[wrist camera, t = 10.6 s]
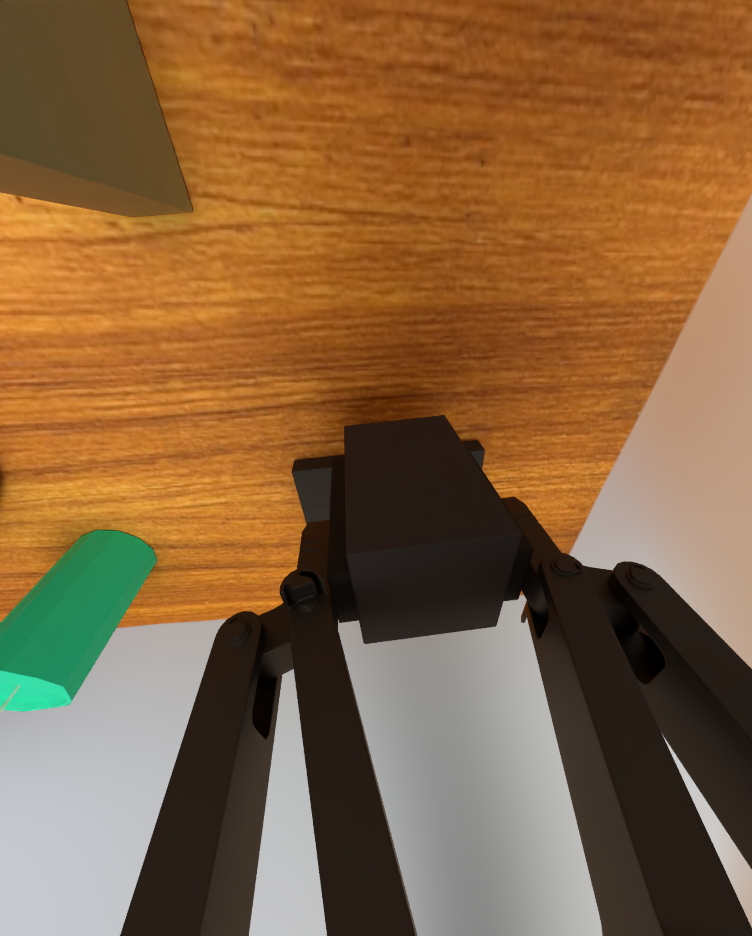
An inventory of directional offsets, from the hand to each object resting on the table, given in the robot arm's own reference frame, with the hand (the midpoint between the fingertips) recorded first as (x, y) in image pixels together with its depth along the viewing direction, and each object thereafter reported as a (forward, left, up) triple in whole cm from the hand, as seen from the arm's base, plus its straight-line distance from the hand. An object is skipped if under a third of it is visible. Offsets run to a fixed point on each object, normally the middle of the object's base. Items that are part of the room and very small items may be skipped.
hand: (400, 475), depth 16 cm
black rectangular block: (0, +1, -1) cm, 2 cm away
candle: (+24, +10, -8) cm, 27 cm away
